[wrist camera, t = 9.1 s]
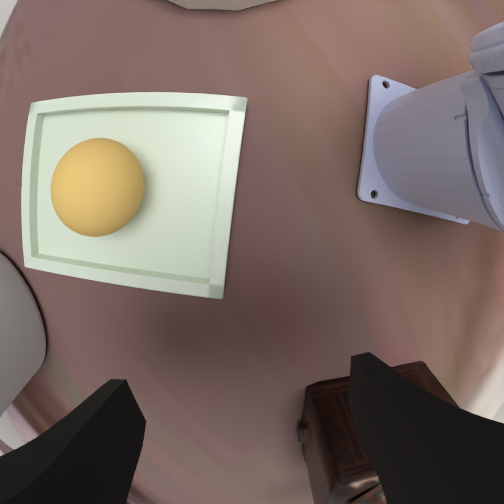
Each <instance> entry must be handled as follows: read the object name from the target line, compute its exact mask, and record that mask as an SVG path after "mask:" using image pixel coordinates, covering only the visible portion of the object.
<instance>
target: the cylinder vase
mask: <svg viewBox="0 0 504 504" xmlns="http://www.w3.org/2000/svg"><path fill="white" fill-rule="evenodd" d="M45 351H46V338H45V331H44V326H43V322H42V318H41V315H40V312H39V309H38V307H37V304H36V302H35V300H34V297H33V295H32V293H31V291H30V289H29V288H28V286H27V284H26V282H25V281H24V279H23V278H22V276H21V275H20V273H19V272H18V270H17V269H16V268H15V267H14V265H13V264H12V263H11V262H10V261H9V260H8V259H7V258H6V257H5V256H4V255H3V254H1V253H0V416H1V415H2V414H3V413H4V411H5V410H6V409H7V407H8V406H9V405H10V404H11V402H12V401H13V400H14V399H15V397H16V396H17V395H18V394H19V392H20V391H21V390H22V389H23V388H24V386H25V385H26V384H27V383H28V381H29V380H30V379H31V378H32V377H33V376H34V374H35V373H36V372H37V371H38V370H39V368H40V367H41V365H42V363H43V361H44V357H45Z"/></svg>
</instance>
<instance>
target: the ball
mask: <svg viewBox="0 0 504 504" xmlns="http://www.w3.org/2000/svg"><path fill="white" fill-rule="evenodd" d="M50 191H51V200H52V204H53V207H54V210H55V212H56V214H57V216H58V217H59V219H60V220H61V221H62V222H63V224H64V225H65V226H67V227H68V228H69V229H71V230H72V231H74V232H76V233H78V234H80V235H84V236H89V237H101V236H106V235H109V234H112V233H114V232H116V231H118V230H120V229H121V228H122V227H124V226H125V225H126V224H127V223H128V222H129V221H130V220H131V219H132V218H133V216H134V215H135V213H136V212H137V210H138V208H139V206H140V204H141V201H142V197H143V192H144V177H143V172H142V168H141V166H140V163H139V161H138V160H137V158H136V156H135V155H134V154H133V153H132V152H131V151H130V150H129V149H128V148H127V147H126V146H125V145H123V144H121V143H119V142H118V141H115V140H112V139H107V138H93V139H88V140H85V141H82V142H80V143H78V144H76V145H75V146H73V147H72V148H70V149H69V150H68V151H67V152H66V153H65V154H64V155H63V157H62V158H61V159H60V161H59V162H58V164H57V166H56V168H55V170H54V173H53V176H52V180H51V190H50Z"/></svg>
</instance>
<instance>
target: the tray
mask: <svg viewBox="0 0 504 504" xmlns="http://www.w3.org/2000/svg"><path fill="white" fill-rule="evenodd" d="M246 107H247V98H245V97H235V96H225V95H213V94H198V93H173V92H135V93H111V94H97V95H85V96H75V97H67V98H59V99H52V100H46V101H39V102H34V103H31V105H30V111H29V117H28V123H27V130H26V138H25V147H24V157H23V171H22V200H21V210H22V239H23V253H24V264H25V267H28V268H33V269H37V270H42V271H47V272H52V273H57V274H62V275H67V276H73V277H78V278H84V279H89V280H95V281H100V282H106V283H112V284H118V285H124V286H130V287H137V288H143V289H150V290H157V291H163V292H171V293H178V294H185V295H193V296H200V297H208V298H217V299H223V292H224V284H225V275H226V266H227V257H228V248H229V239H230V230H231V222H232V213H233V205H234V197H235V189H236V181H237V173H238V165H239V158H240V150H241V143H242V135H243V128H244V121H245V114H246ZM93 138H107V139H112V140H115V141H118V142H119V143H121V144H123V145H125V146H126V147H127V148H128V149H129V150H130V151H131V152H132V153H133V154H134V155H135V156H136V158H137V160H138V161H139V163H140V166H141V168H142V172H143V177H144V192H143V197H142V201H141V204H140V206H139V208H138V210H137V212H136V213H135V215H134V216H133V218H132V219H131V220H130V221H129V222H128V223H127V224H126V225H125V226H124V227H122V228H121V229H120V230H118V231H116V232H114V233H112V234H109V235H106V236H101V237H89V236H84V235H80V234H78V233H76V232H74V231H72V230H71V229H69V228H68V227H67V226H65V225H64V224H63V222H62V221H61V220H60V219H59V217H58V216H57V214H56V212H55V210H54V207H53V204H52V200H51V191H50V190H51V180H52V176H53V173H54V170H55V168H56V166H57V164H58V162H59V161H60V159H61V158H62V157H63V155H64V154H65V153H66V152H67V151H68V150H69V149H70V148H72V147H73V146H75V145H76V144H78V143H80V142H82V141H85V140H88V139H93Z"/></svg>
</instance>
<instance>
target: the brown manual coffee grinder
mask: <svg viewBox="0 0 504 504" xmlns="http://www.w3.org/2000/svg"><path fill="white" fill-rule="evenodd" d="M392 369H394V370H395V371H397V372H398V373H400V374H401V375H403V376H404V377H405V378H407V379H408V380H410V381H412V382H413V383H415V384H416V385H418V386H419V387H421V388H423V389H424V390H426V391H428V392H429V393H431V394H433V395H435V396H437V397H438V398H440V399H442V400H444V401H446V402H448V403H450V404H452V405H454V406H456V407H458V408H459V406H458V405H457V404H456V402H455V401H454V400H453V398H452V397H451V396H450V395H449V393H448V392H447V391H446V390H445V388H444V387H443V386H442V385H441V383H440V382H439V381H438V380H437V378H436V377H435V376H434V375H433V373H432V372H431V371H430V370H429V368H428V367H427V366H426V364H425V363H424V362H417V363H412V364H406V365H401V366H397V367H393V368H392ZM349 384H350V377H344V378H339V379H333V380H327V381H321V382H318V383H316V384H313V385H310V386H308V387H307V389H306V396H305V404H304V411H303V416H302V422H301V424H299V426H298V441H300V442H302V451H303V455H304V459H305V462H306V463H307V468H308V474H309V480H310V485H311V490H312V495H313V500H314V504H387V503H386V499H385V496H384V492H383V489H382V486H381V483H380V481H379V478H378V476H377V473H376V471H375V469H374V467H373V465H372V462H371V460H370V458H369V456H368V453H367V451H366V449H365V447H364V445H363V442H362V440H361V438H360V436H359V434H358V431H357V429H356V427H355V423H354V420H353V417H352V414H351V410H350V407H349V403H348V396H349Z"/></svg>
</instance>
